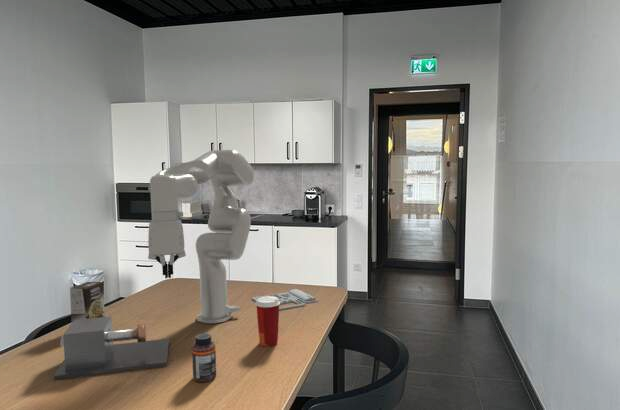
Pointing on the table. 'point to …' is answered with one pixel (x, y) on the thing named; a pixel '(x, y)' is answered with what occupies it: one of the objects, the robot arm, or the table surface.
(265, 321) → the paper cup
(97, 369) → the grey fixture block
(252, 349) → the table surface
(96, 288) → the coffee box
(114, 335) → the shaft
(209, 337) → the supplement bottle
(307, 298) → the office telephone
